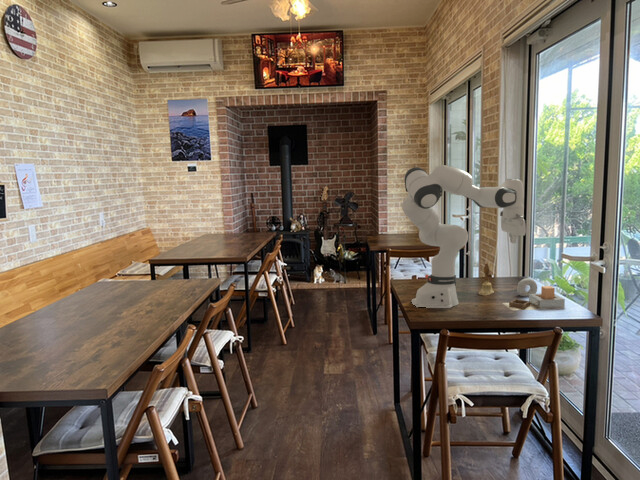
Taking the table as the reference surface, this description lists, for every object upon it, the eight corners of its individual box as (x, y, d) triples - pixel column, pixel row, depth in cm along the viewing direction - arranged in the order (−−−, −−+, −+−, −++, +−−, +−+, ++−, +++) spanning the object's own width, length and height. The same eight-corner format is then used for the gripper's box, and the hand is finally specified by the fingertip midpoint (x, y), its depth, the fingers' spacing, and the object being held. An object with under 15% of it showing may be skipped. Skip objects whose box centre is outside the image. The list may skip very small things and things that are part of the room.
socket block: (539, 308, 206) (539, 300, 206) (528, 302, 217) (529, 293, 217) (564, 307, 206) (564, 299, 205) (552, 301, 217) (552, 292, 216)
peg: (554, 306, 209) (554, 288, 208) (545, 306, 209) (545, 288, 208) (549, 304, 213) (550, 285, 212) (541, 304, 213) (541, 286, 212)
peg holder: (524, 309, 207) (524, 304, 207) (509, 306, 212) (509, 302, 212) (530, 305, 212) (530, 301, 211) (515, 303, 216) (515, 299, 216)
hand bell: (479, 295, 238) (479, 265, 236) (477, 291, 246) (477, 262, 244) (496, 296, 236) (496, 265, 234) (494, 291, 244) (494, 262, 242)
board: (511, 313, 206) (511, 310, 206) (501, 306, 218) (501, 303, 218) (566, 311, 206) (566, 308, 205) (553, 304, 218) (553, 300, 217)
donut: (535, 296, 232) (535, 276, 230) (538, 298, 228) (539, 278, 227) (515, 297, 231) (515, 278, 230) (518, 299, 228) (519, 279, 226)
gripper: (529, 215, 207) (529, 245, 208) (511, 211, 227) (511, 239, 229) (515, 215, 207) (515, 246, 209) (498, 212, 227) (498, 240, 229)
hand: (513, 242), depth 219 cm, fingers closed
